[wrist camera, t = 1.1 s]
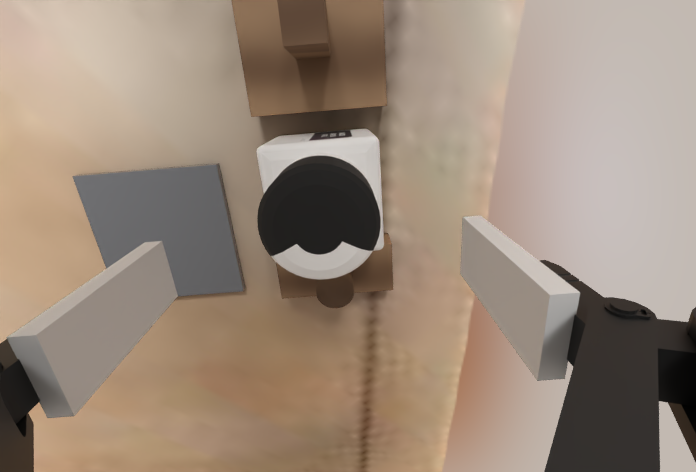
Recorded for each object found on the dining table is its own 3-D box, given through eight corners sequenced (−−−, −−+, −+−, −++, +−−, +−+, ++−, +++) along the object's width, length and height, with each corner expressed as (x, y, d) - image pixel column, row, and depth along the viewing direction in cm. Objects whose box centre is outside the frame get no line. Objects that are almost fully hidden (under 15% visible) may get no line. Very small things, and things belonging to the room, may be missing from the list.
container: (275, 135, 28) (227, 160, 16) (369, 127, 28) (391, 146, 16) (289, 224, 31) (256, 301, 19) (374, 217, 31) (396, 290, 19)
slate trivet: (77, 174, 29) (72, 176, 29) (218, 163, 29) (216, 164, 28) (122, 297, 33) (118, 301, 33) (245, 288, 33) (243, 291, 33)
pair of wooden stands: (241, 6, 25) (194, -39, 17) (378, -6, 25) (396, -56, 17) (286, 284, 33) (269, 341, 25) (389, 276, 33) (404, 331, 25)
